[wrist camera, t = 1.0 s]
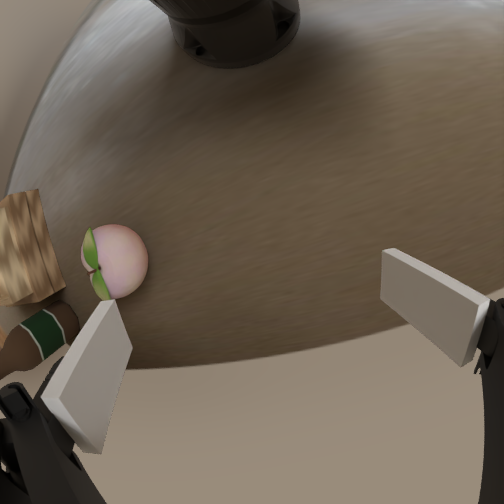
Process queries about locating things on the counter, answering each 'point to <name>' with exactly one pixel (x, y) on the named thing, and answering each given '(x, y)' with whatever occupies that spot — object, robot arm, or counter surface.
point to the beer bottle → (38, 338)
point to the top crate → (11, 264)
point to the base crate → (34, 245)
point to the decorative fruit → (114, 260)
